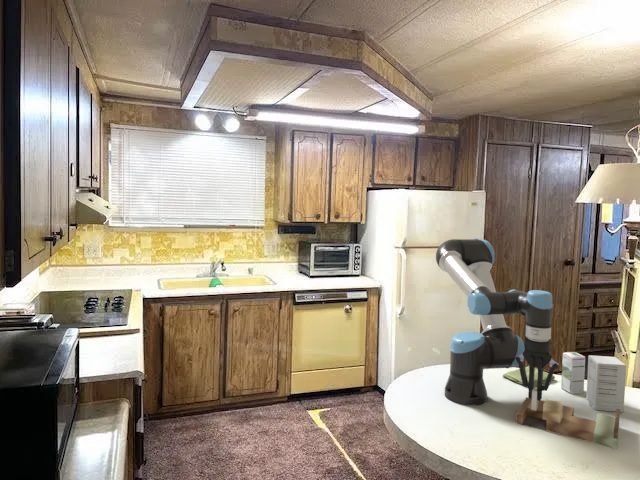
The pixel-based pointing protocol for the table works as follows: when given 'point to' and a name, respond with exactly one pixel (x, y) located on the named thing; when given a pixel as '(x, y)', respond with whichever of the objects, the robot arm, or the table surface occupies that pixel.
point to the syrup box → (573, 372)
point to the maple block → (553, 410)
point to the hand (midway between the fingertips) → (534, 408)
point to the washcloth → (516, 376)
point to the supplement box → (606, 383)
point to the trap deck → (572, 424)
